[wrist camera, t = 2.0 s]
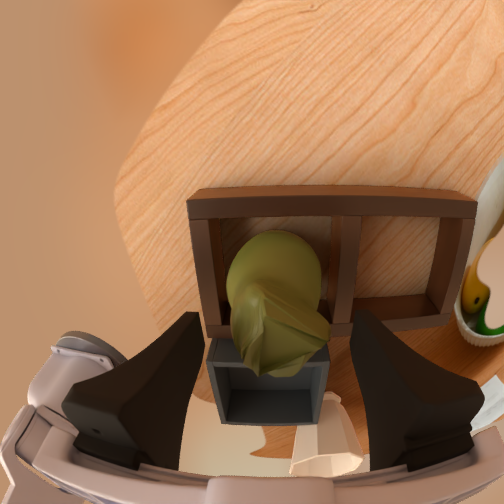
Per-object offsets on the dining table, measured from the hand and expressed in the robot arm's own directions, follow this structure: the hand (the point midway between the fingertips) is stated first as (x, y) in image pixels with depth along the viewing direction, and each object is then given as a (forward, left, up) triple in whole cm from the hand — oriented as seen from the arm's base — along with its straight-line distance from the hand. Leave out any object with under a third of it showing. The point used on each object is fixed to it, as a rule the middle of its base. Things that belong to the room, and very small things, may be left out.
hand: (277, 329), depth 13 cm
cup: (+5, -19, -8) cm, 21 cm away
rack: (+4, 0, -8) cm, 9 cm away
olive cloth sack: (0, 0, -8) cm, 8 cm away
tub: (-1, -10, -8) cm, 13 cm away
